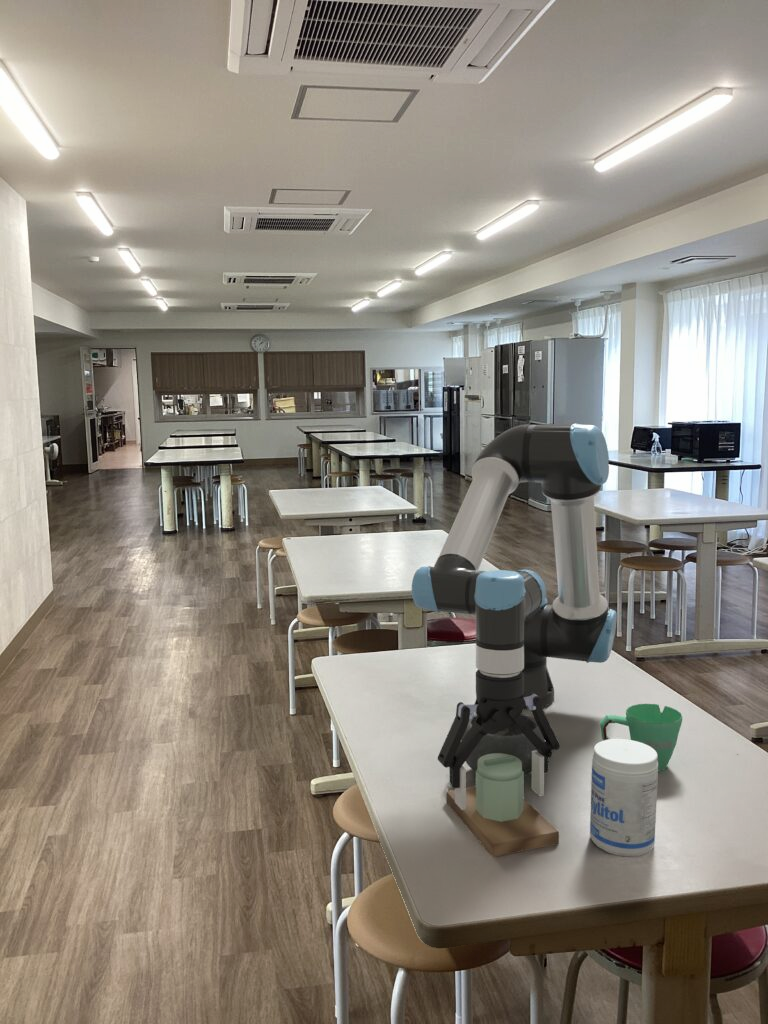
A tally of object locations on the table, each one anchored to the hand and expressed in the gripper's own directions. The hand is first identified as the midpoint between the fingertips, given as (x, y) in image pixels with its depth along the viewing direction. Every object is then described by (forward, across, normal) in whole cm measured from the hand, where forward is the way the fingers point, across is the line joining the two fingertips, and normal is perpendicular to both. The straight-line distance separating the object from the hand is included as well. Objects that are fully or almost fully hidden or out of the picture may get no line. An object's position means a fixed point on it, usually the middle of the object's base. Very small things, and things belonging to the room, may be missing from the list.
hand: (499, 799), depth 133 cm
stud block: (+4, 0, 0) cm, 4 cm away
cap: (+2, 0, 0) cm, 2 cm away
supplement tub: (+4, -15, +12) cm, 19 cm away
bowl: (+4, -8, -15) cm, 18 cm away
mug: (+4, -34, -10) cm, 35 cm away
